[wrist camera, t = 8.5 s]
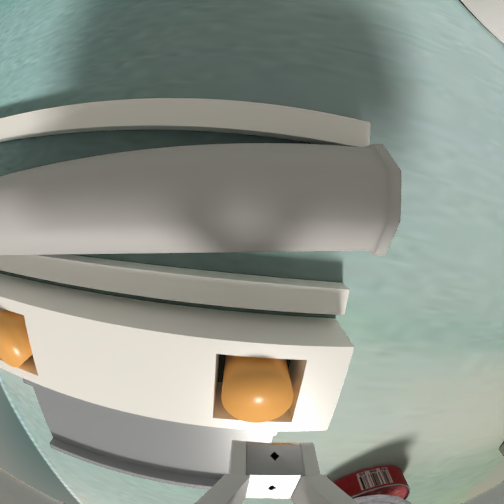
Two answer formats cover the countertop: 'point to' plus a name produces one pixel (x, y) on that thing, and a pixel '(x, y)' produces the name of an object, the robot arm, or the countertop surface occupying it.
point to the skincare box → (502, 449)
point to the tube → (205, 201)
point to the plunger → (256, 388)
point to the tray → (140, 441)
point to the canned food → (376, 485)
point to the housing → (178, 292)
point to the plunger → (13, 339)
